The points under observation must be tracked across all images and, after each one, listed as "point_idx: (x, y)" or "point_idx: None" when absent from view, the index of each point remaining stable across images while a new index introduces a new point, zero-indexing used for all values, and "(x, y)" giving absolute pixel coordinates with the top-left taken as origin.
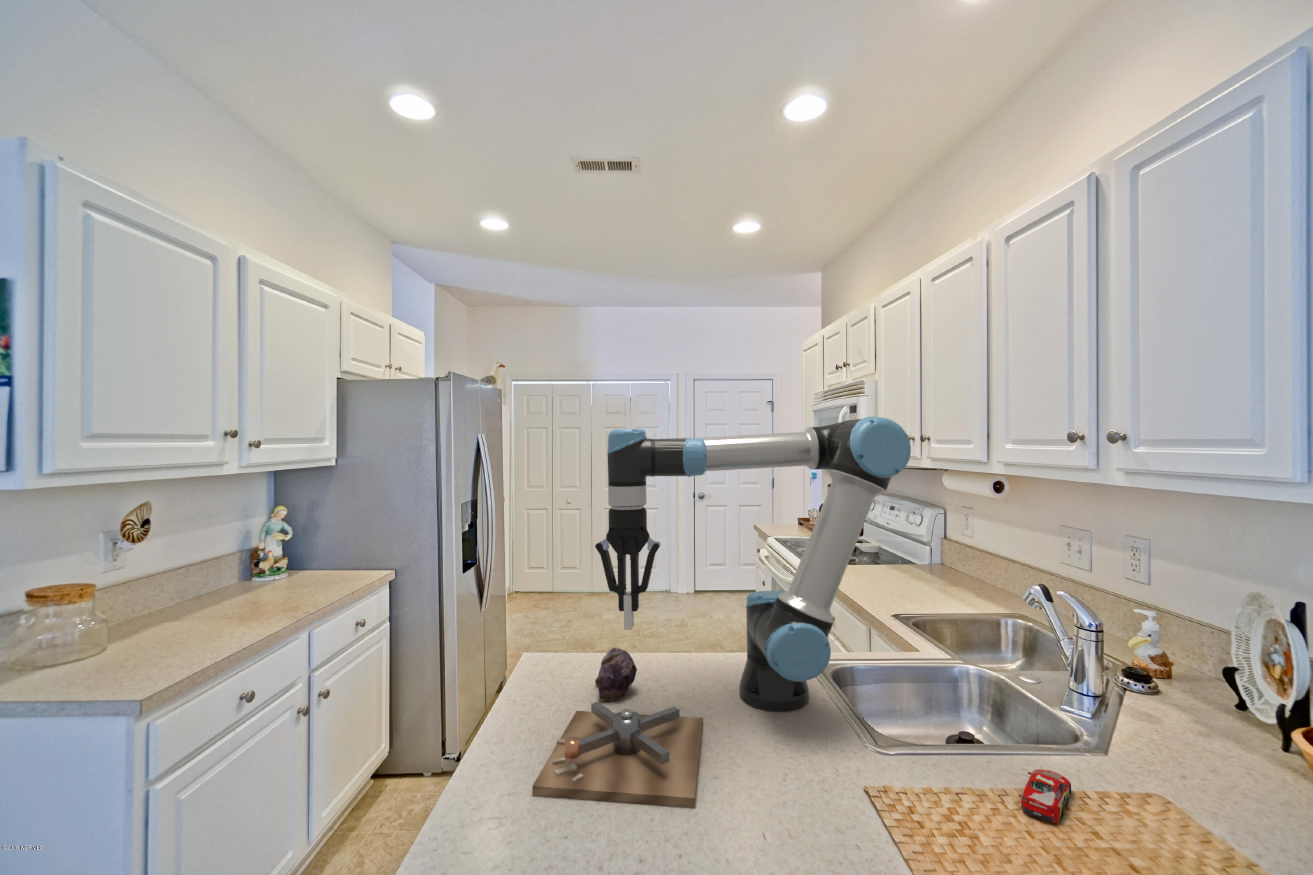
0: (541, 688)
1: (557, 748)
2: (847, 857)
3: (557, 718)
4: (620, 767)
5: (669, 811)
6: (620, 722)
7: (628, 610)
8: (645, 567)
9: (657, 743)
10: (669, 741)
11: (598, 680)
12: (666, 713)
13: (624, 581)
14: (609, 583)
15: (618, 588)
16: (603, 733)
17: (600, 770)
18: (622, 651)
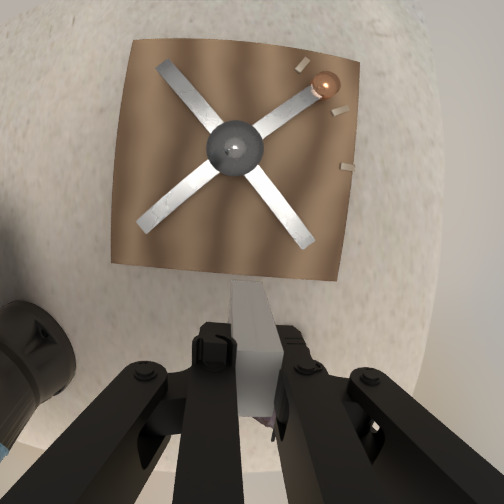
0: (389, 364)
1: (349, 153)
2: (20, 19)
3: (362, 274)
4: (240, 96)
5: (168, 34)
6: (246, 126)
7: (247, 313)
8: (72, 494)
9: (174, 90)
10: (162, 178)
11: (309, 350)
12: (159, 202)
13: (293, 432)
14: (398, 395)
15: (328, 381)
16: (277, 119)
17: (271, 89)
18: (270, 421)
